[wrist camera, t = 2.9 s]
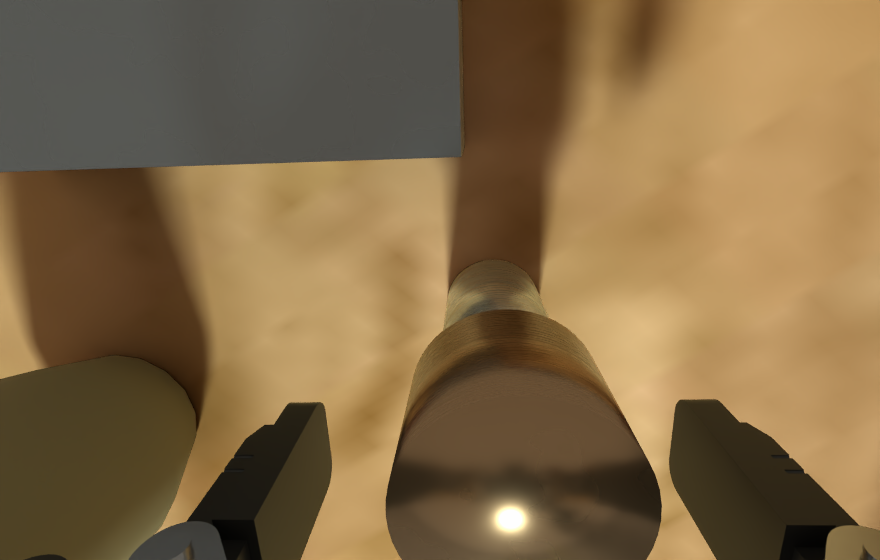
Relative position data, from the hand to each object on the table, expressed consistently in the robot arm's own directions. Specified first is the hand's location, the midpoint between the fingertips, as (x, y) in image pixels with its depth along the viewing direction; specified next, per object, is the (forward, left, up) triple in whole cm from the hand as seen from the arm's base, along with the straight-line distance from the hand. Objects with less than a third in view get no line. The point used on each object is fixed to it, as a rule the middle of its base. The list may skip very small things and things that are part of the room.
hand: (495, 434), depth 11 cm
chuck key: (0, 0, -8) cm, 8 cm away
